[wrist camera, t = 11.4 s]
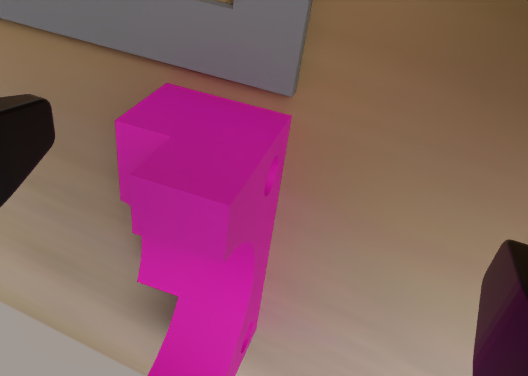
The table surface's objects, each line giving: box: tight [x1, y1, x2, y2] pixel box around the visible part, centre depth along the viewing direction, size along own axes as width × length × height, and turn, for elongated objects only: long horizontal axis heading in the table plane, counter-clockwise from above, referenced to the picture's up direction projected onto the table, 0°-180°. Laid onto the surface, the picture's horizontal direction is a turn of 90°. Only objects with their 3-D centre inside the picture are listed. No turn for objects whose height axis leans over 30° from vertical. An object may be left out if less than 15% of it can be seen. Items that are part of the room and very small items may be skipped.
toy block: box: [115, 83, 292, 376], centre depth 24 cm, size 15×6×8 cm, turn 173°
